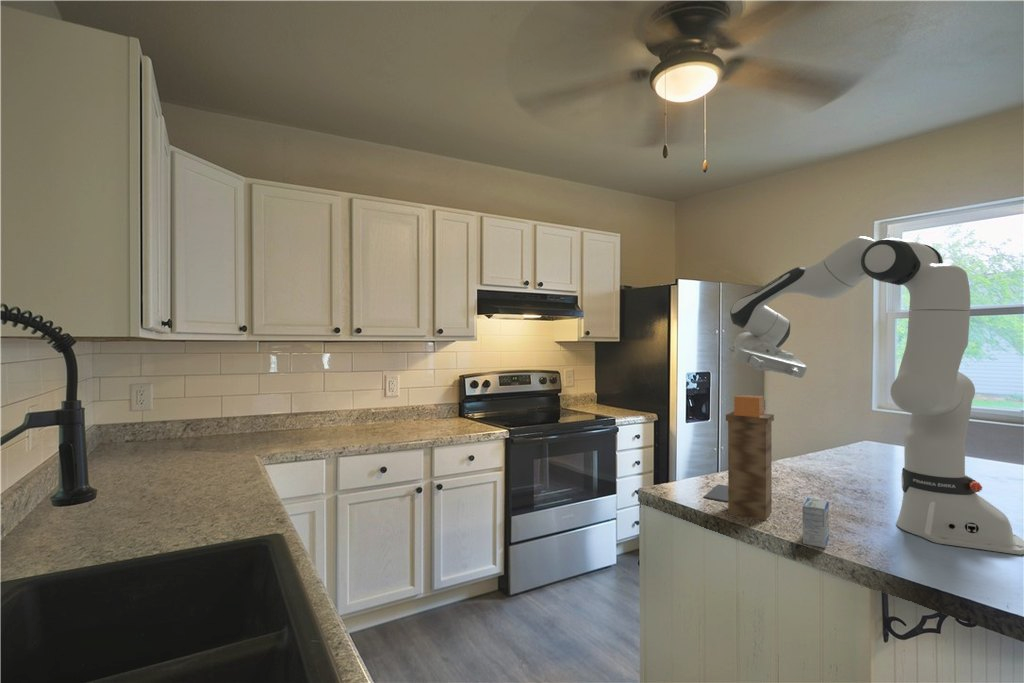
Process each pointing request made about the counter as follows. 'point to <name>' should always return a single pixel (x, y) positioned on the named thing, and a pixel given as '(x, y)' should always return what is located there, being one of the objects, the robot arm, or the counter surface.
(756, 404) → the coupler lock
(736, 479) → the stand
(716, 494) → the rubber mat
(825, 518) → the medicine box
